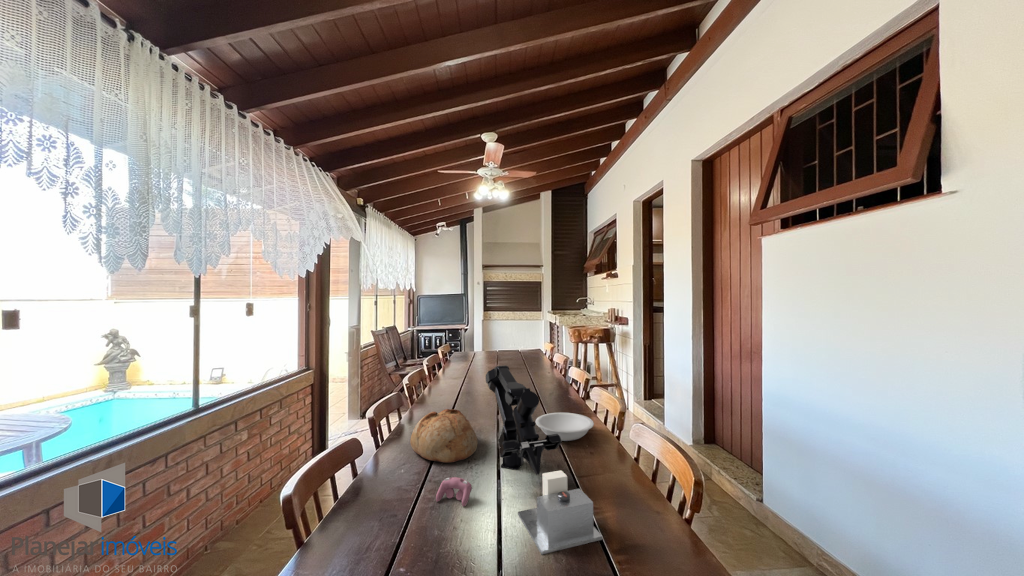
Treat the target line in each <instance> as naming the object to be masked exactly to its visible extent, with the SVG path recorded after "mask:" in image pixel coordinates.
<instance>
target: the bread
mask: <svg viewBox="0 0 1024 576" xmlns="http://www.w3.org/2000/svg"><path fill="white" fill-rule="evenodd" d="M409 440H410V442H409V443H410V446H411V448H412V450H413V452H415V453H416V455H419V456H420V457H421V458H423V459H426V460H428V461H432V462H433V461H434V462H439V463H445V464H448V463H455V462H458V461H463V460H465V459H468V458H470V457H471V456H472V455H473V454H474V453H475V452H476V450H477V448H478V436H477V433H476V432H475V430H474V428H473V426H472V425H471V423H470V421H469V420H468V419H467V417H466V416H465V415H464V414H463V412H462V411H461V410H458V409H456V408H454V409H453V408H452V409H451V408H450V409H449V408H446V409H443V410H442V411H440V412H437V411H431V412H428V413H427V414H426V415H424V416H423V417H422V418H420V420H419V421H418V422H417V423H416V424H415V426H414V428H413V430H412V432H411V436H410V439H409Z"/></svg>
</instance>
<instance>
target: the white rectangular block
mask: <svg viewBox="0 0 1024 576" xmlns="http://www.w3.org/2000/svg"><path fill="white" fill-rule="evenodd" d="M541 479H542V496H544V495H549V494H554V493H559V492H562V491H568V476H567V474H566V473H564V471H563V470H556V471H555V470H554V471H550V472H549V471H548V472H543V473H542V478H541Z"/></svg>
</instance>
